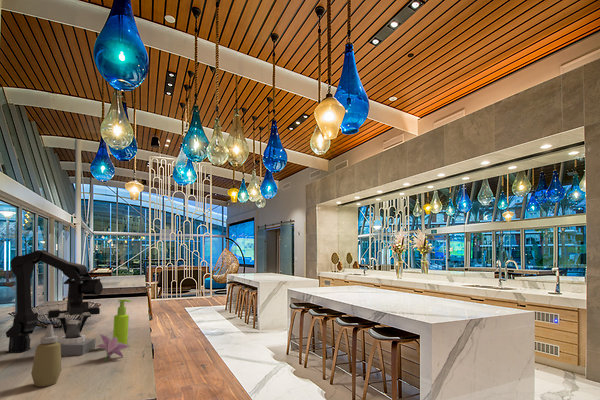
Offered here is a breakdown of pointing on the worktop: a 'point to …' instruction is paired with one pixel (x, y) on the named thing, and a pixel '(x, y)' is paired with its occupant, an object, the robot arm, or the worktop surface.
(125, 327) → the soap dispenser
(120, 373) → the worktop surface
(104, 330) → the worktop surface
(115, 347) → the lily
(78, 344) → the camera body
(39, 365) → the squeeze bottle
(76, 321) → the grey block
